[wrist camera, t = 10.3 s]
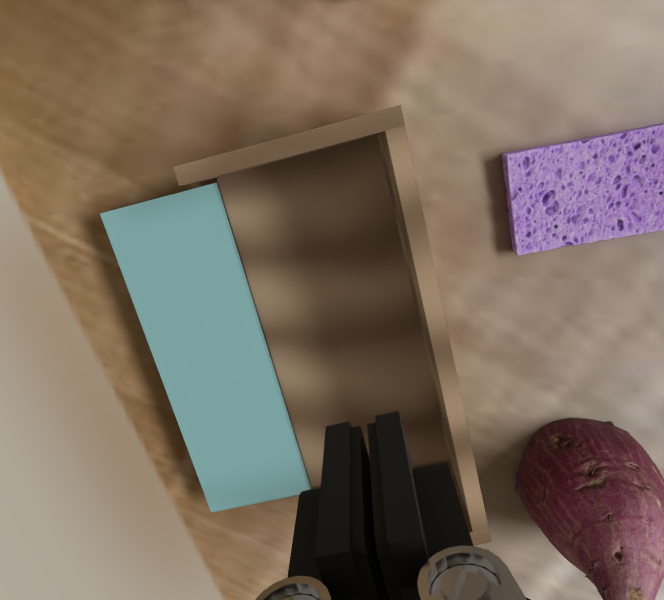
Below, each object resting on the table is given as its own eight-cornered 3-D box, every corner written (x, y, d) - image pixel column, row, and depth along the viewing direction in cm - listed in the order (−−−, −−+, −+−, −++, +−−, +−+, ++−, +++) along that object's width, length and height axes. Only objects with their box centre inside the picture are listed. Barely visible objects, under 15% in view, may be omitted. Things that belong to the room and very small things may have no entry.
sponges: (498, 153, 36) (506, 153, 34) (688, 116, 35) (707, 115, 33) (508, 252, 38) (516, 257, 36) (689, 220, 37) (706, 224, 35)
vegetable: (515, 503, 47) (527, 681, 34) (511, 407, 43) (522, 567, 30) (649, 511, 44) (719, 711, 31) (658, 409, 40) (742, 589, 27)
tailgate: (218, 181, 35) (109, 211, 36) (213, 183, 34) (99, 213, 35) (310, 481, 42) (215, 500, 43) (309, 492, 40) (211, 512, 41)
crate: (217, 162, 36) (173, 166, 27) (387, 116, 35) (400, 104, 26) (315, 485, 43) (307, 576, 34) (460, 456, 42) (491, 541, 33)
